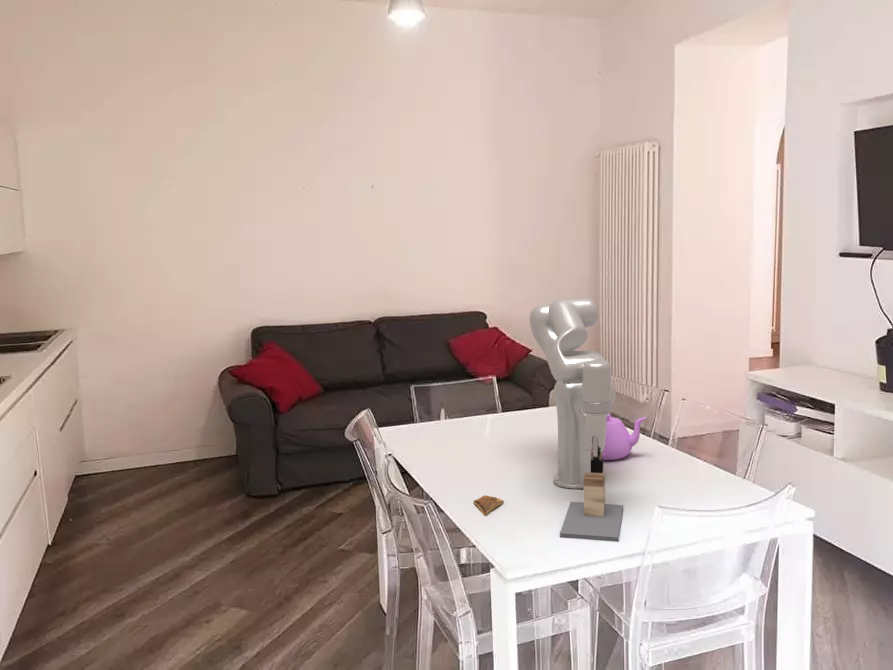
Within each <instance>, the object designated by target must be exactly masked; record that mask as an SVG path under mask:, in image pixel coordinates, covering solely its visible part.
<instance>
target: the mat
mask: <svg viewBox="0 0 893 670" xmlns="http://www.w3.org/2000/svg"><path fill="white" fill-rule="evenodd" d="M623 512H624V505H623V504H612V503H605V512H604V517H598V516H584V501H583V502H580V501H569V506H568V508H567V511H566V514H565V518H564V520H563V522H562V523H563V524H562V527H561V529H560V533H559V537H560V538H569V539H570V538H571V539H582V540H584V539H585V540H594V541H595V540H596V541H609V542H619V539H620V531H621V525H622V519H623Z"/></svg>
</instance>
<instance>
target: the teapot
mask: <svg viewBox="0 0 893 670" xmlns="http://www.w3.org/2000/svg"><path fill="white" fill-rule="evenodd" d="M646 419H647V417H640V418H638V419H636V420H635V422H634V425H633V426H634V427H633V431H632V433H631V434H630V433H629V431H628V429H627V427H626V426H625V424H624V422H622V420H621V419H620V418H617V417H614V416H613V417H612V416H611V413H610V414H608V415H607V423H606V442H605V447H604V450H603V456H602V459H603V461H617V460H621V459H623V458H626V457H627V455H630V454H629V453H630V452H631V451H632V449H633V447H635V446H636V444H638V442H639V440H640V435H641V426H642V425H641V424H642V422H643V421H644V420H646Z"/></svg>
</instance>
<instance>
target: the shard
mask: <svg viewBox="0 0 893 670" xmlns="http://www.w3.org/2000/svg"><path fill="white" fill-rule="evenodd" d="M472 502H473V504H474V505H475V506H477V507H478V509H479V511H480V512H481V513H482V514H483V515H484V516H488V515H489V514H491V512H492V511H494V510H495V509H497V508H498V507H500V506H501V505H503V504H504V502H505V500H503V499H501V498H499V497H496V496H489V495H485V494H484V495H482V496H481V497H479V498H477V499H475V500H473V501H472Z"/></svg>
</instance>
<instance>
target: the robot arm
mask: <svg viewBox="0 0 893 670" xmlns="http://www.w3.org/2000/svg"><path fill="white" fill-rule="evenodd" d="M598 319H599V308H598V306H597V304H596V302H595V301H594V300H593V299H592V298H590V297H567V298H566V297H565V298H559V299H556V300H554V301H553V302H551V303H545V304H543V303H542V304H540V305H537V306H535V307H534V308H532V310H531V311H530V314H529V324H530V325H529V326H530V330H531V334H532V335H533V338H534V340H535V341H536V343H537V345H538V346H539V347H540V349H541V350H542V351H543V353H544V355H545V358H546V359H545V360H546V361H547V364H548V367H549V370H550V374H551V375H552V377H553V378H554V380H555V381H556V383H554V389H553V390H554V391H553V394H554V399H555V405H556V406H555V407H556V413H557V453H558V454H557V455H558V460H557V461H558V462H557V464H558V469H557V470H558V473H557V474H555V475H554V476H553V480H552V483H554V484H555V486H558V487H561V488H565V489H572V490H573V489H576V490H577V489H579V490H580V489H584V476H585V472H589V473H604V460H603V459H602V456H603V450H604V447H605V442H606V423H607V415H608V414H610V415H611V413H612V405H613V404H614V402H615V401H616V398H617V397H616V396H617V394H616V387H615V383H614V381H613V378H612V367H611V364H610V362H608V361H607V360H606V359H605V358H604V356H602V355H601V353H599V352H598V351H596V350H589V349H588V350H576V349H578V348H580V347H582V346H583V345H584V344H585V343H586V341H587V339H588V337H589V335H588V329H587V328H590V327H592V326H594V325H596V323H597V321H598Z"/></svg>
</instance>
